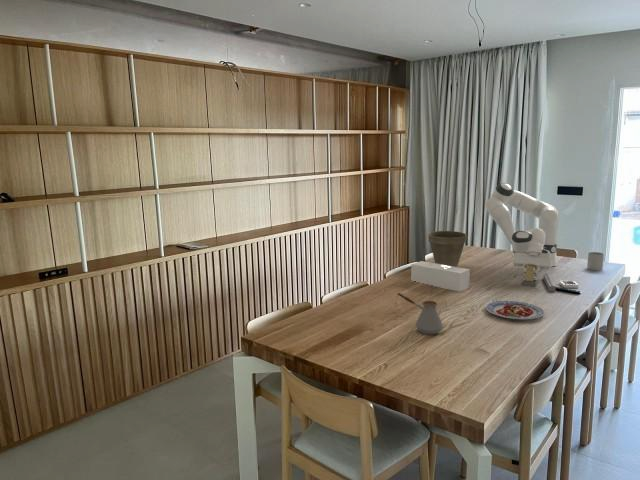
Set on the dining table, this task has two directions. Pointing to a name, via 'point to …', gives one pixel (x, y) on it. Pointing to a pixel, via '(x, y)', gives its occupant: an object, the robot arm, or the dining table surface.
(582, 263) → the dining table surface
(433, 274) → the white rectangular block
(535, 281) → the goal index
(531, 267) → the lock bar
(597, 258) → the cup
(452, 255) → the plant pot
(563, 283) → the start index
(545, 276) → the long grey bar
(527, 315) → the ceramic plate
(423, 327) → the coffee pot
